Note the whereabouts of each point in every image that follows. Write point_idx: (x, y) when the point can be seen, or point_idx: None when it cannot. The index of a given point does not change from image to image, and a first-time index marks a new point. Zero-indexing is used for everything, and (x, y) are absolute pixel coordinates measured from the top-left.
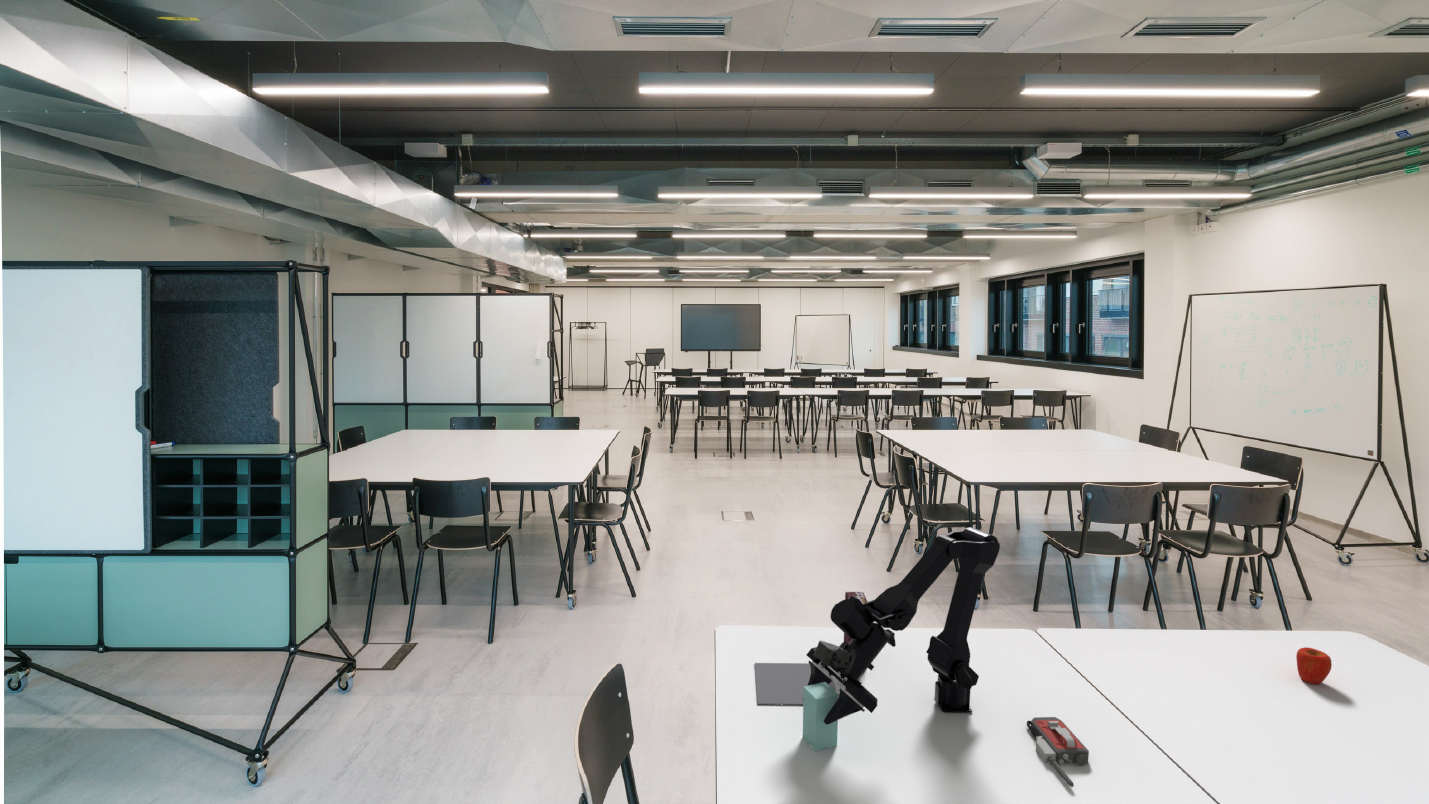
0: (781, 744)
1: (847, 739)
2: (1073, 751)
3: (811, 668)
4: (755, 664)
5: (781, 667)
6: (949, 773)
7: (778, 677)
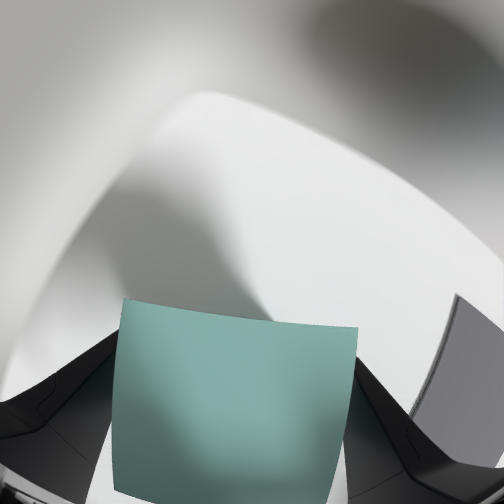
0: (284, 252)
1: None
2: None
3: (474, 471)
4: None
5: None
6: None
7: (501, 395)
